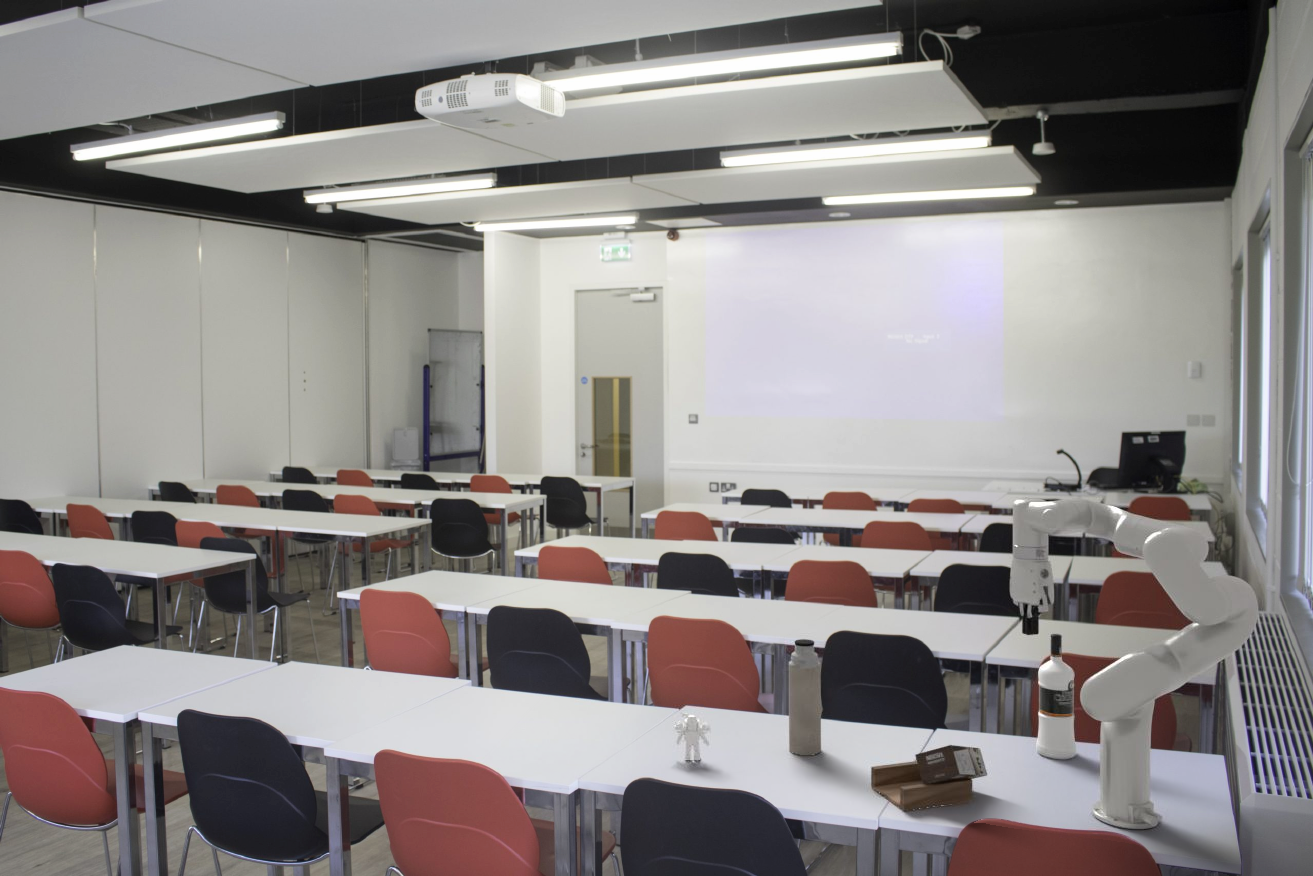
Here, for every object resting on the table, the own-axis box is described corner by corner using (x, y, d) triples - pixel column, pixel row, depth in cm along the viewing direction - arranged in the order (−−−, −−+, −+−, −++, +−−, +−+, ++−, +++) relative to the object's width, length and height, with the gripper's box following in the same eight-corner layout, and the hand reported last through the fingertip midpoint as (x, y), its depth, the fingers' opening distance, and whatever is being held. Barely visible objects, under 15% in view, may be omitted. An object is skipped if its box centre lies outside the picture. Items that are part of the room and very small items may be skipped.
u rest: (972, 801, 214) (972, 780, 214) (903, 811, 209) (903, 789, 209) (936, 779, 228) (936, 758, 228) (871, 787, 223) (871, 766, 223)
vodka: (1051, 745, 250) (1051, 628, 249) (1084, 755, 242) (1084, 635, 241) (1028, 752, 245) (1028, 633, 244) (1061, 763, 237) (1061, 640, 236)
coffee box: (979, 746, 222) (952, 744, 210) (988, 776, 220) (961, 775, 208) (942, 755, 227) (913, 753, 215) (950, 784, 224) (922, 784, 212)
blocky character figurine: (673, 761, 241) (673, 713, 241) (676, 755, 245) (675, 708, 244) (710, 763, 239) (709, 714, 239) (711, 757, 243) (711, 709, 243)
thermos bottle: (797, 743, 253) (796, 635, 252) (825, 748, 249) (825, 639, 248) (783, 752, 246) (783, 642, 246) (813, 758, 242) (812, 645, 241)
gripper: (1067, 557, 215) (1067, 640, 215) (1023, 548, 229) (1023, 626, 229) (1038, 558, 212) (1038, 642, 213) (995, 549, 227) (995, 628, 227)
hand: (1030, 633), depth 221 cm, fingers closed
